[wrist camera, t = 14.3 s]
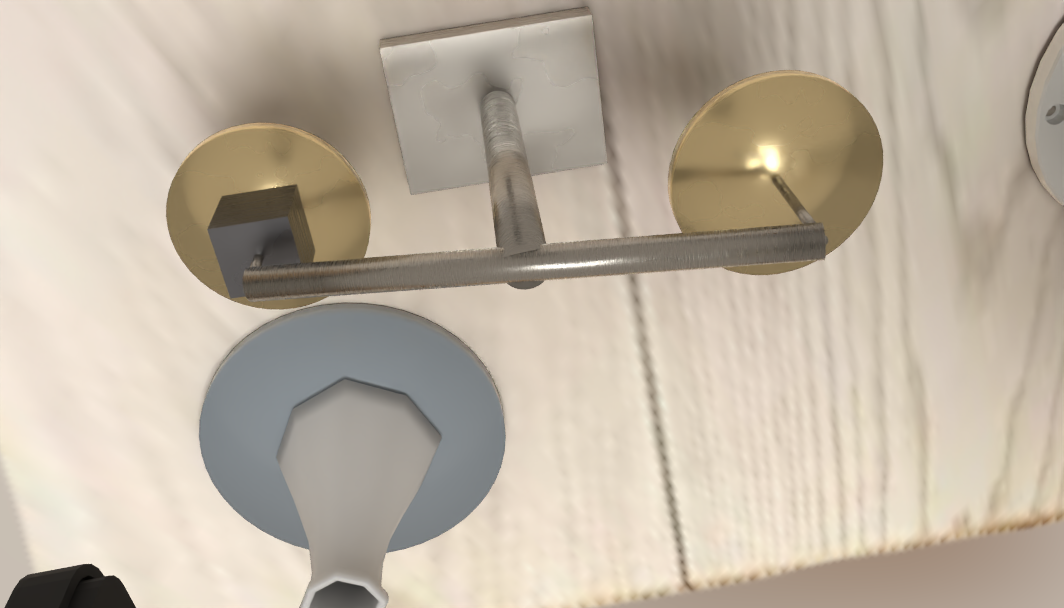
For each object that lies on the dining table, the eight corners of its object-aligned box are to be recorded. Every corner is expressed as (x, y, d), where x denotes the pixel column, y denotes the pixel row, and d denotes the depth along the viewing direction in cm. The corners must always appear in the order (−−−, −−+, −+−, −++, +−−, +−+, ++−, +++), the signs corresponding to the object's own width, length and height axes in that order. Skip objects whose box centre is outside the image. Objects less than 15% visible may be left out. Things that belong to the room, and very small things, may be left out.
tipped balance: (770, -28, 38) (960, 114, 24) (772, 129, 41) (940, 332, 28) (195, 63, 38) (61, 257, 24) (242, 214, 41) (149, 460, 27)
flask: (339, 351, 44) (317, 506, 35) (469, 430, 46) (478, 591, 38) (249, 456, 46) (207, 625, 38) (377, 525, 49) (365, 696, 40)
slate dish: (478, 280, 44) (479, 291, 43) (522, 516, 51) (524, 530, 50) (162, 330, 44) (156, 343, 43) (251, 560, 51) (247, 575, 50)
